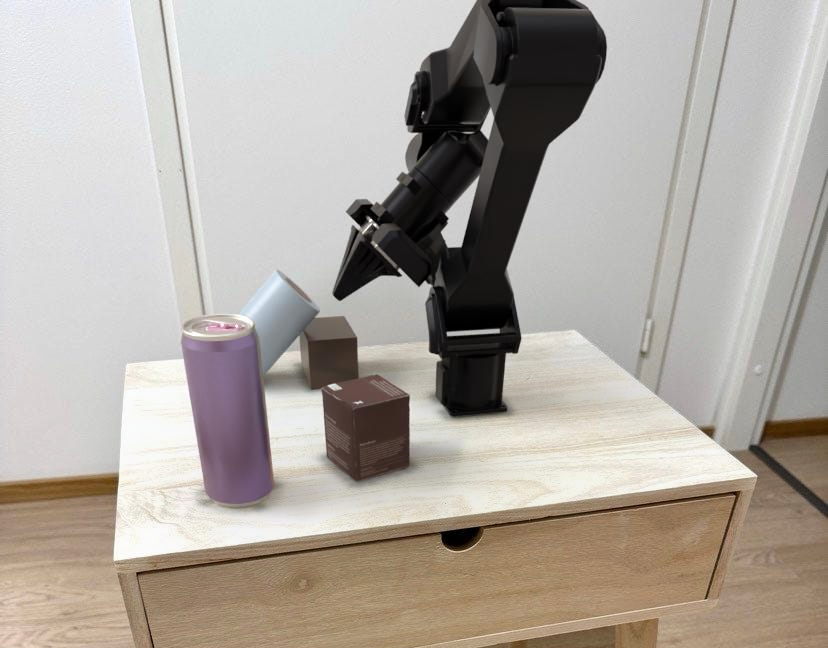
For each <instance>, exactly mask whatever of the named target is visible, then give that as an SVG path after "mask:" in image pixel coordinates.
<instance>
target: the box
mask: <svg viewBox="0 0 828 648" xmlns="http://www.w3.org/2000/svg"><path fill="white" fill-rule="evenodd" d="M321 394H322V409H323V410H322V411H323V425H324V437H325V450H326V451H325V453H326V458H327V459H328V460H329V461H331V462H332V463H333V464H334V465H335V466H337V467H338V468H339V469H340V470H342V471H343V472H344V473H345V474H346V475H347V476H349V477H350V478H351V479H352V480H354V482H361V481H364V480H367V479H372V478H374V477H378V476H382V475H384V474H387V473H391V472H394V471H398V470H401V469H405V468H408V467H409V466H410V465H411V463H410V462H411V461H410V460H411V459H410V453H411V452H410V449H411V448H410V444H411V443H410V442H411V441H410V439H411V438H410V437H411V433H410V430H411V429H410V425H411V423H410V422H411V421H410V420H411V419H410V418H411V416H410V414H411V413H410V412H411V411H410V410H411V408H410V401H411V395H410V394H409V393H408V392H406V391H404V390H403V389H402V388H400V387H398V386H396V385H395V384H394V383H392V382H390V381H388V380H387V379H386V378H384V377H382V376H381V375H379V374H377V373H375V374H371V375H367V376H362V377H358V379H353V380H349V381H344V382H340V383H335V384H331V385H328V386H324V387H322V388H321Z"/></svg>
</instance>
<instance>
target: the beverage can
mask: <svg viewBox="0 0 828 648" xmlns="http://www.w3.org/2000/svg"><path fill="white" fill-rule="evenodd" d="M180 327H181V328H180V329H181V332H182V333H181V338H180V345H181V350H182V351H181V352H182V358H183V363H184V370H185V375H186V383H187V387H188V388H187V389H188V395H189V401H190V406H191V412H192V418H193V426H194V430H195V437H196V443H197V449H198V456H199V463H200V468H201V473H202V480H203V486H204V492H205V494H206V495H207V496H208V498H209V499H210V500H211V501H212V502H213V503H215V504H217V505H218V506H221V507H224V508H225V507H226V508H235V509H239V508H247V507H251V506H254V505H258V504H260V503H262V502H264V501H266V499H267V498H268V497H269V496H270V495H271V493H272V491H273V489H274V487H275V477H274V468H273V457H272V449H271V439H270V438H271V437H270V429H269V420H268V410H267V409H268V408H267V401H266V400H267V399H266V390H265V382H264V381H265V380H264V376H263V370H262V361H261V351H260V341H259V335H258V333H257V331H256V329H255V322H254V321H253V320H252V319H251V318H249V317H246V316H243V315H238V314H235V313H211V314H204V315H199V316H196V317H192V318H190V319H188V320H186V321H184V322H183V323H182V324H181V326H180Z"/></svg>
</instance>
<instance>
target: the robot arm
mask: <svg viewBox="0 0 828 648" xmlns="http://www.w3.org/2000/svg"><path fill="white" fill-rule="evenodd" d="M607 51H608V44H607V37H606V33H605V31H604V29H603V27H602V26H601V25H600V23H599V22H598V20H597V19H596V17H595V15H594V14H593V12H592V10H590V9H589V7H588V6H587V5H586V4H583V3H582V2H580V1H579V0H475V2H474V4H473V5H472V7H471V9H470V11H469V13H468V14H467V16H466V18H465V19H464V21H463V24H462V25H461V26H460V28H459V30H458V32H457V34H456V35H455V37H454V39H453V40H452V42H451V44H450V46H449V47H446V48H442V49H439V50H436V51H432V52H430V53H429V54H428V55H427V56H426V57H425V58H424V59H423V60H422V62H421V64H420V67H419V70H418V71H416V72H415V73H414V77H413V82H412V83H411V84H410V87H409V91H408V97H407V102H406V106H405V112H404V122H405V126H406V128H407V129H406V130H407V132H408V133H410V134H415V135H414V137H412V138H411V139H410V141H409V143H408V144H407V148H406V151H405V154H404V155H405V156H404V158H405V159H404V160H405V167H406V169H407V171H408V172H407V173H406V172H404V171H401V172H400V173H399V175H398V176H397V177H396V178H395V180H396V181H397V182H398V184H397V185H396V186H395V187H394V188H393V189H392V191H391V192H390V193H389V194H388V195H387V196H386V198H384V200H383V201H382V202H381V203H379V202H378V201H376V202H375V203H374V204H373V203H372V202H371V201H370V200H368V198H358V199H357V198H356V199H355V200H354V201H353V202H352V203H351V205H350V206H349V207H348V208H347V209H346V210H345V213H346V214H347V215H348V216H349V217H350V218H351V219H352V220H353V221H354V222H355V223H356V224H357V225H358V226H359V228H357V227H356V226H355V225H354V224H351V227H350V233H349V236H348V240H347V243H346V246H345V250H344V253H343V257H342V261H341V264H340V267H339V270H338V273H337V276H336V280H335V282H334V285H333V288H332V293H331V294H332V296H333V297H334V298H335V299H336V300H337V301H338V302H342V301H343V300H344V299H346V298H348V297H350V296H351V295H352V294H354V293H356V292H357V291H358V290H361V289H362V288H363V287H365V286H366V285H368V284H369V283H371V282H373V281H374V280H376V279H378V278H380V277H397V278H401V277H403V274H402V273H401V272H400V271H399V270H401V271H402V272H403V273H404V274H405V275H406V276H407V277H408V278H409V279H410V281H412V282H413V283H414V284H415V285H416V287H417V288H420V287H421V286H422V285H423V284H424V283H425V282H426V284H427V285H431V286H430V288H429V291H428V297H427V299H426V300H425V303H424V306H425V314H426V323H427V328H428V329H427V330H428V352H429V354H432V355H436V356H438V357H439V358H440V360H437V361H436V362H435V363H436V365H435V366H436V367H435V393H434V394H435V395H434V396H435V397H436V399H437V400H438V402H439V403H440V405H441V406H442V407H443V408H444V409H445V411H446V412H447V414H448V415H449V416H450V417H455V418H456V417H465V416H474V415H485V414H486V415H487V414H496V413H506V412H507V411H508V405H507V404H506V403H505V402H504V401H503V393H504V383H505V370H506V358H507V354H513V355H515V354H516V355H517V354H519V350H520V347H521V343H522V332H521V327H520V322H519V316H518V311H517V306H516V300H515V294H514V289H513V286H512V283H511V279H510V276H509V271H508V266H509V263H510V260H511V257H512V254H513V251H514V248H515V245H516V242H517V240H518V236H519V234H520V231H521V227H522V225H523V221H524V218H525V216H526V213H527V210H528V208H529V203H530V201H531V198H532V196H533V192H534V189H535V186H536V183H537V180H538V178H539V175H540V172H541V170H542V169H541V168H542V165H543V163H544V160H545V157H546V154H547V151H548V149H549V146H550V144H551V143H553V142H554V141H555V140H556V139H557V138H558V137H560V136H562V134H563V133H565V132H566V130H568V129H569V128H571V126H573V125H574V124H575V123H576V122H577V121H578V120H579V119H580V118H581V117H582V114H583V112H584V111H585V108H586V106H587V104H588V102H589V100H590V97H591V95H592V93H593V91H594V90H595V87H596V85H597V84H598V83H599V81H600V79H601V78H602V75H603V73H604V70H605V66H606V61H607V54H608V53H607ZM490 110H491V112H492V113H491V114H492V116H493V121H492V125H491V129H490V133H489V137H487V136H486V135H485V134H484V133H483V131H482V127H483V126H484V123H485V121H486V119H487V117H488V114H489V113H490ZM477 179H478V180H477ZM476 180H477V184H476V188H475V192H474V196H473V200H472V204H471V208H470V212H469V215H468V220H467V224H466V228H465V231H464V236H463V240H462V243H461V246H453V247H452V246H450V247H448V245H447V243H446V242H447V241H446V239H445V238H444V236H443V234H442V231H444V229H445V228H446V227H447V226H448V224H449V221H448V220H449V219H450V218H449V217H448V216H447V215H446V214H447V213H448V212H449V211H450V210H451V209H452V207H453V206H454V205H455V204H456V203H457V201H458V200H459V199H460V198H461V197H462V196H463V195H464V193H465V192H466V191H467V190H468V189H469V188H470V187H471V186H472V185H473V183H474V182H475V181H476ZM488 330H499V332H495V333H494V332H493V333H475V334H459V335H448V333H454V332H473V331H488Z"/></svg>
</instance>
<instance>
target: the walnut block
mask: <svg viewBox="0 0 828 648" xmlns="http://www.w3.org/2000/svg"><path fill="white" fill-rule="evenodd" d="M298 339H299V350H300V364H301V367H302V370H303V373H304V375H305V378H306V380H307V383H308V385H309V389H310V390H319V389H322V387H324V386H328V385H331V384H335V383H340V382H344V381H349V380H353V379H358V378H359V354H358V353H359V350H358V349H359V348H358V347H359V346H358V336H357V335H356V333H355V331H354V329H353V328H352V326H351V325H350V323H349V321H348V320H347V318H346V316H345V315H336V316H322V317H315V318H314V319H313V320H312V321H311V322H310V324H309V325H308V326H307V327H306V328H305V329H304V330H303V332H302V333H301V334H300V335H299V336H298Z"/></svg>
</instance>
